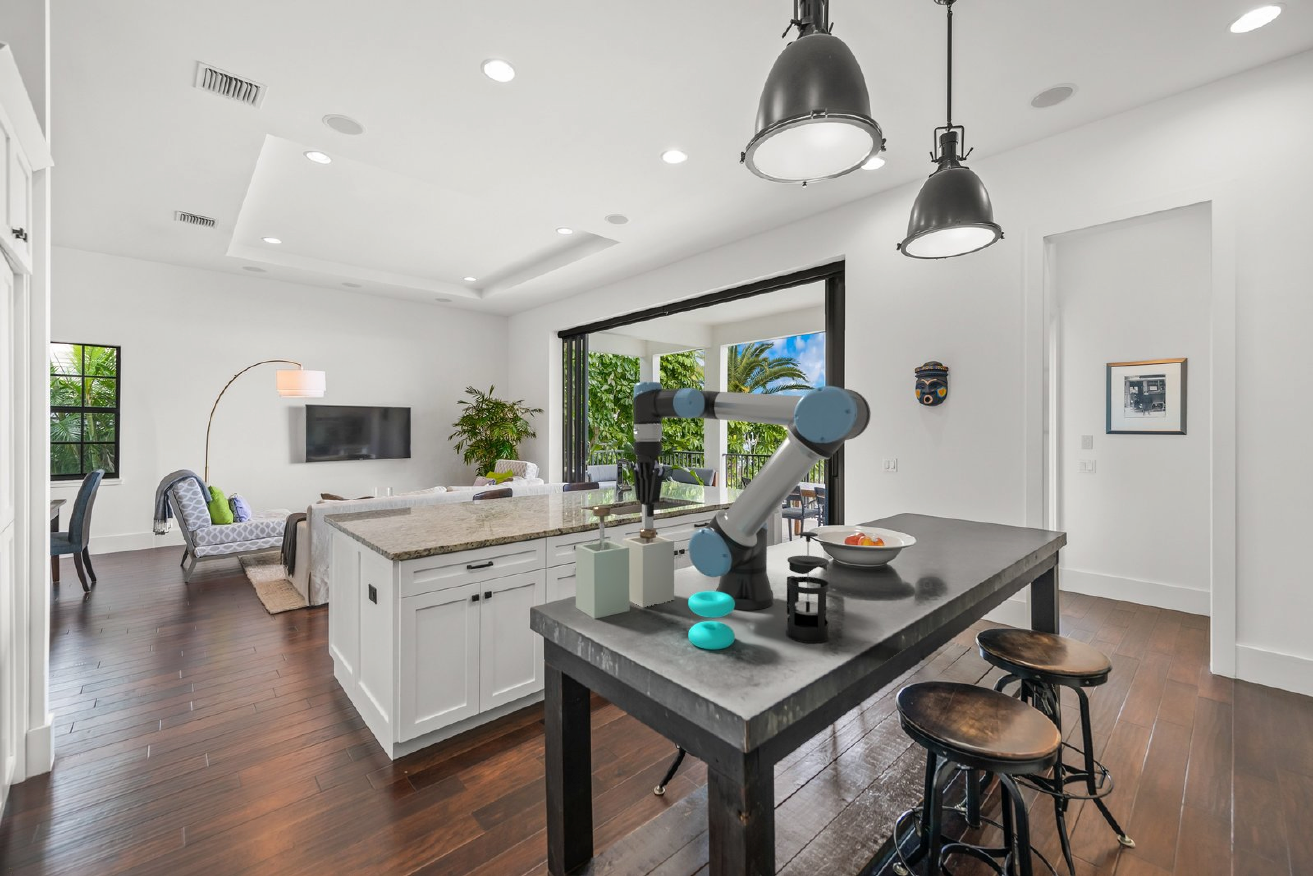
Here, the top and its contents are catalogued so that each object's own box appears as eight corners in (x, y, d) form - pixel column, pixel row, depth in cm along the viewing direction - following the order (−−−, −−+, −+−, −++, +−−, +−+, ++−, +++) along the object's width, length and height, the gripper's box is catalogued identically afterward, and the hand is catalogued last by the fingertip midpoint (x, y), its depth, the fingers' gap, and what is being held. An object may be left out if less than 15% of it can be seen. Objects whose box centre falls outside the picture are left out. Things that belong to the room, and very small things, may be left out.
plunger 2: (665, 579, 148) (665, 529, 147) (644, 584, 144) (644, 532, 144) (651, 574, 153) (651, 526, 153) (631, 578, 149) (630, 528, 149)
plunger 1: (620, 560, 140) (619, 507, 139) (596, 564, 136) (596, 510, 135) (607, 555, 145) (606, 504, 145) (584, 559, 141) (584, 506, 141)
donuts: (713, 607, 112) (678, 596, 119) (713, 656, 112) (678, 642, 120) (744, 596, 119) (709, 586, 126) (744, 642, 119) (709, 630, 127)
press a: (674, 600, 147) (674, 540, 147) (642, 607, 142) (642, 545, 141) (653, 591, 156) (652, 534, 155) (622, 597, 150) (622, 538, 149)
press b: (629, 610, 139) (629, 547, 139) (594, 618, 134) (594, 553, 133) (609, 600, 148) (609, 540, 147) (575, 607, 142) (575, 545, 142)
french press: (841, 640, 120) (842, 535, 119) (806, 648, 116) (807, 539, 116) (805, 622, 131) (806, 526, 130) (772, 629, 127) (773, 529, 126)
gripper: (622, 440, 151) (623, 526, 151) (649, 441, 140) (649, 534, 141) (645, 439, 155) (645, 523, 156) (673, 440, 144) (673, 530, 145)
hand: (647, 528), depth 148 cm, fingers closed
